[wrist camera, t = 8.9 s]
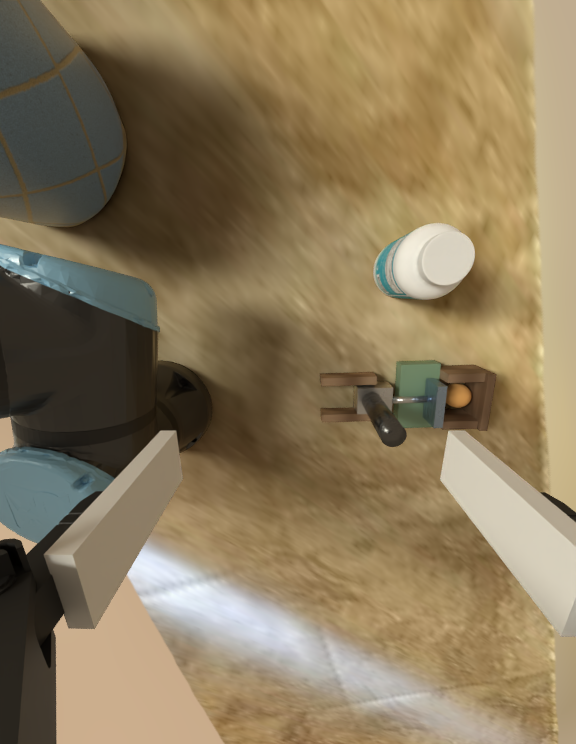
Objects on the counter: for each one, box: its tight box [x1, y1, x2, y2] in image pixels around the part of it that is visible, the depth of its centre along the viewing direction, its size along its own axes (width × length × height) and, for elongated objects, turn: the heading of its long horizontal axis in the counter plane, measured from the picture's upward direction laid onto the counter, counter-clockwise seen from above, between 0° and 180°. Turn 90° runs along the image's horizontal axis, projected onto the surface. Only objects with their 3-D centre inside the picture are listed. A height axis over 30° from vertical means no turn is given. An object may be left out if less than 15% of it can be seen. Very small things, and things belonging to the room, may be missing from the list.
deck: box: [394, 360, 441, 428], centre depth 42 cm, size 6×10×2 cm, turn 3°
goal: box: [439, 365, 497, 431], centre depth 40 cm, size 6×8×5 cm
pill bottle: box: [373, 223, 475, 300], centre depth 32 cm, size 8×7×14 cm
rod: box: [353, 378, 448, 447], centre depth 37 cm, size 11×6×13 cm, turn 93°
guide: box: [320, 372, 377, 422], centre depth 42 cm, size 8×7×2 cm
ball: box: [446, 383, 472, 408], centre depth 41 cm, size 4×4×4 cm
